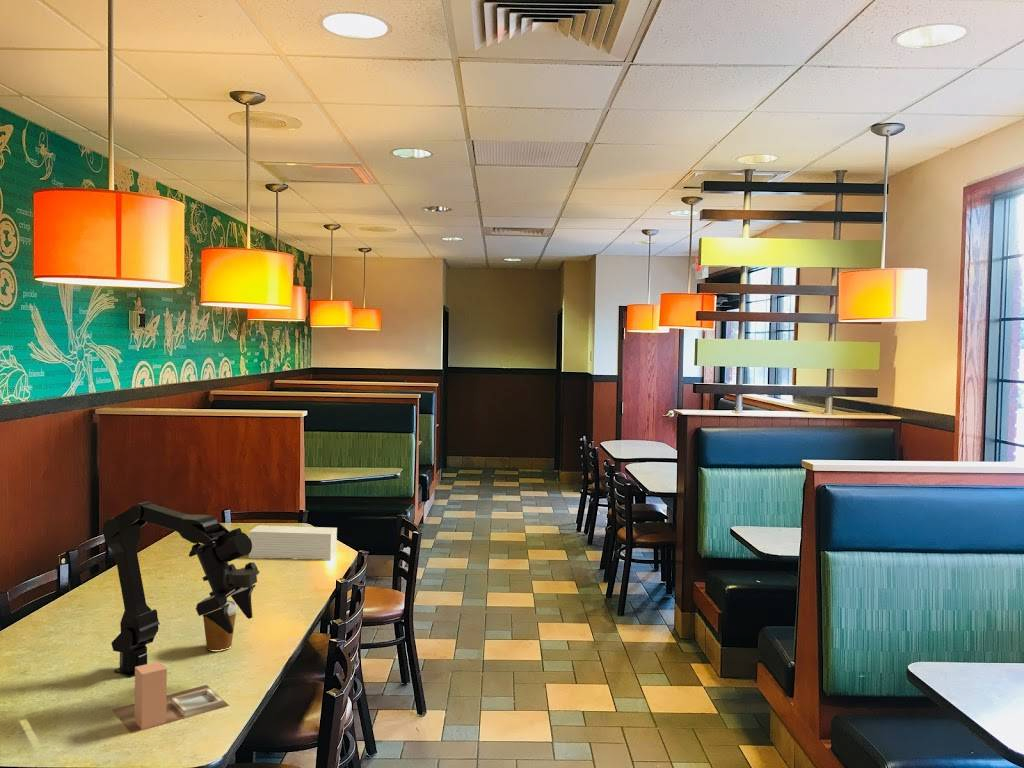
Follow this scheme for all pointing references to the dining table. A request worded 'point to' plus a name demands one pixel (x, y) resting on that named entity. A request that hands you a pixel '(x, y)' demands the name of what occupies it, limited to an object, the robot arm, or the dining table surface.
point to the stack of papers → (293, 542)
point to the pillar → (150, 695)
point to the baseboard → (177, 706)
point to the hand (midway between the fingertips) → (241, 625)
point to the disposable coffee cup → (220, 630)
